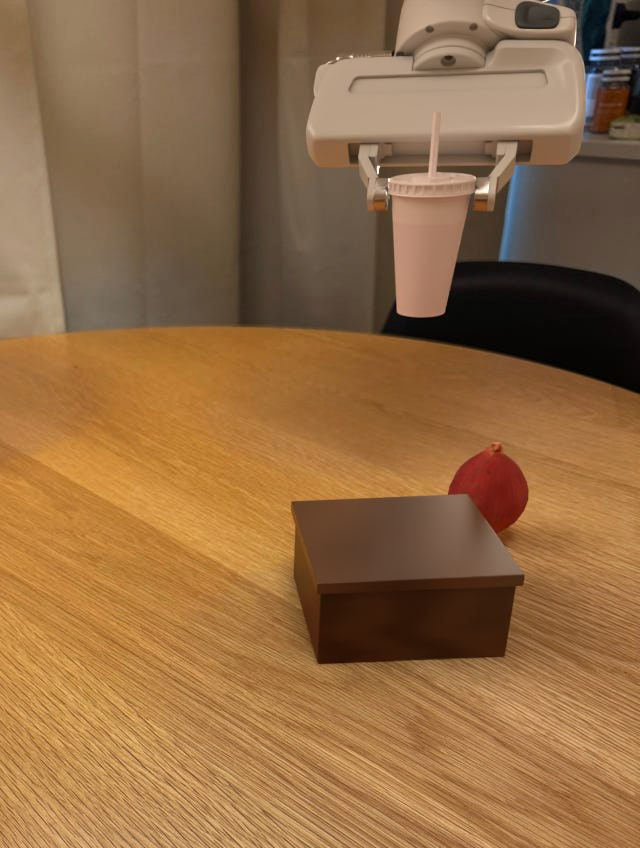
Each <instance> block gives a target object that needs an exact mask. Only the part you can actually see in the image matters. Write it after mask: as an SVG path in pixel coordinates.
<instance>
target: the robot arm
mask: <svg viewBox="0 0 640 848" xmlns="http://www.w3.org/2000/svg"><path fill="white" fill-rule="evenodd" d="M548 1H549V0H403V2H402V6H401V10H400V16H399V21H398V28H397V34H396V41H395V46H394V49H393V50H376V51H367V52H361V53H354V52H342V53H338V54H336V57H335V58H333V59H330V60H327V61H326V62H324V63H322V64H321V65H319V66H318V67H317V70H316V72H315V76H314V80H313V86H312V96H313V100H312V103H311V107H310V110H309V114H308V118H307V122H306V125H305V126H306V128H305V141H306V148H307V152H308V156H309V158H310V159H311V161H312V162H313V163H314V165H315V166H316V167H318V168H358V171H359V177H360V179H361V181H362V183H363V185H364V188H366V190H367V193H366V210H367V212H387V211H388V207H389V201H390V196H391V195H390V194H388V192H387V191H388V187H389V179H390V178H389V177H379V176H378V175H379V170H380V168H387V167H388V168H389V167H390V168H392V167H396V168H397V167H429V160H430V148H431V137H432V125H433V113H434V112H442V113H441V124H440V135H439V146H438V158H437V167H466V166H469V167H470V166H471V167H473V166H475V167H476V166H477V167H479V166H481V167H483V166H485V167H487V166H494V168H493V169H492V171H491V172H490V174H489V175H487V176H477V177H476V185H475V192H474V193H473V194H474V195H473V205H472V207H473V208H472V211H473V212H494V210H495V205H496V204H495V202H496V196H497V194H498V193H499V192H500V191H501V190H502V189H503V188H504V186H505V185H506V184H507V183H508V182H509V181H510V179H511V178H512V177H513V176H514V174H515V167H516V166H560V165H566V164H568V163H569V162H570V161H572V160H573V159H574V158H575V157H576V156H577V155H578V154H579V152H580V150H581V145H582V141H583V137H584V136H583V135H584V130H585V125H586V124H585V123H586V113H587V82H586V81H587V79H586V69H585V63H584V59H583V56H582V55H581V53H580V51H579V50H578V49H577V47H576V39H577V13H576V12H575V11H574V10H573V9H571V8H569V7H567V6H563V5H558V4H554V3H549V2H548Z"/></svg>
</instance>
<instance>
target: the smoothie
mask: <svg viewBox="0 0 640 848" xmlns="http://www.w3.org/2000/svg"><path fill="white" fill-rule="evenodd" d="M441 113H442V112H434V113H433V125H432V137H431V148H430V160H429V166H428V171H427V172H416V173H406V174H405V173H404V174H399V175H394V176H391V177H390V178H389V187H388V191H387V192H388V194H390V195H389V196H391V216H392V217H391V218H392V236H393V237H392V238H393V256H394V257H393V258H394V260H393V261H394V280H395V281H394V282H395V301H396V303H395V304H396V313H397V314H398V315H400V316H404V317H411V318H434V317H439V316H441V315H444V314H445V313H446V309H447V308H446V307H447V304H448V299H449V295H450V291H451V286H452V282H453V277H454V273H455V268H456V263H457V258H458V254H459V251H460V250H459V249H460V246H461V240H462V236H463V232H464V227H465V222H466V219H467V215H468V209H469V205H470V204H469V203H470V200H471V197H472V196H471V195H472V194H475V188H476V180H477V177H476V176H475V175H473V174H468V173H461V172H440V171H437V168H438V166H437V158H438V146H439V135H440V124H441Z"/></svg>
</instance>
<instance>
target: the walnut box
mask: <svg viewBox="0 0 640 848" xmlns="http://www.w3.org/2000/svg"><path fill="white" fill-rule="evenodd" d="M290 513H291V515H292V520H293V522H294V549H293V550H294V554H293V579H294V584H295V587H296V590H297V595H298V598H299V602H300V606H301V609H302V613H303V616H304V617H303V618H304V620H305V624H306V627H307V631H308V634H309V638H310V643H311V645H312V648H313V652H314V656H315V661H316V663H317V664H334V663H335V664H337V663H339V664H340V663H360V662H385V661H386V662H389V661H390V662H391V661H409V660H411V661H413V660H436V659H438V660H439V659H460V658H461V659H463V658H485V657H489V658H490V657H505V656H506V651H507V645H508V638H509V632H510V626H511V620H512V614H513V607H514V601H515V595H516V590H517V587H523V586H524V582H525V577H526V575H525V573H524V571H523V570H522V568H521V567H520V566H519V564H518V563H517V562H516V560H515V559H514V557H513V556H512V555H511V553H510V552H509V551H508V549H507V548H506V546H505V544H504V543H503V542H502V540H501V539H500V537H499V536H498V534H496V533H495V532H494V530H493V529H492V528H491V526H490V525H489V523H488V522H487V521H486V519H485V518H484V516H483V515H482V513H481V512H480V511H479V509H478V508H477V506H476V505H475V504H474V502H473V501H472V499H471V498H470V497H469V495H468V494H455V495H448V494H434V495H432V494H431V495H412V496H411V495H410V496H407V495H406V496H385V497H384V496H383V497H363V498H339V499H338V498H337V499H317V500H316V499H314V500H312V499H311V500H292V501H291V502H290Z"/></svg>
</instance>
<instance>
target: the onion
mask: <svg viewBox="0 0 640 848" xmlns="http://www.w3.org/2000/svg"><path fill="white" fill-rule="evenodd" d="M529 492H530V491H529V485H528V480H527V479H526V477H525V475H524V472H523V470H522V469H521V467H520V466H519V464H518V463H517V462H516V461H515V460H514V459H513V458H512V457H510V456H508V455H507V454H506V453H504V447H503V443H502V442H500V441H493V442H492V443H491V444H490V445H489V446H488V447H486V448H485V449H483V450H482V451H479V452H478V453H477V454H475V455H473V456H472V457H469V459H467V460H466V461H464V463H462V464H461V465H460V466H459V468H458V469H457V470H456V472H455V473H454V476H453V478H452V480H451V483H450V484H449V486H448V491H447V495H455V494H468V495H469V497H470V498H471V499H472V501H473V502H474V504H475V505H476V506H477V508H478V509H479V511H480V512H481V513H482V515H483V516H484V518H485V519H486V521H487V522H488V523H489V525H490V526H491V528H492V529H493V530H494V532H495V533H496V535H498V534H500V533H502V532H503V531H505V530H507V529H508V528H510V527H512V525H514V524H515V523H516V522H517V521H518V520H519V518H520V517H521V516H522V515H523V514H524V512H525V510H526V507H527V505H528V502H529Z"/></svg>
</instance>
